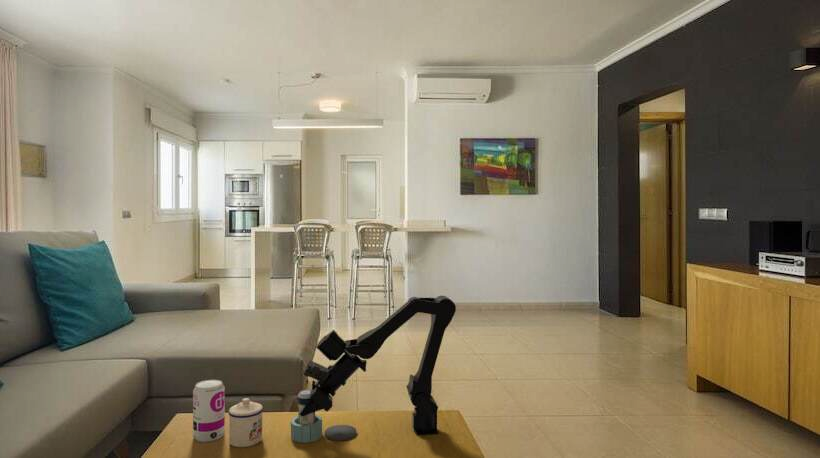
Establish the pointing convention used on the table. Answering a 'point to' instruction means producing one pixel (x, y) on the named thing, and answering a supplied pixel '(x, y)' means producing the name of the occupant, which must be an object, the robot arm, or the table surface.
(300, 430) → the plastic tub
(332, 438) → the rubber mat
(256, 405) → the teacup with lid
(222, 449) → the table surface
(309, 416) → the beer can
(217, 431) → the supplement can
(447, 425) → the table surface
